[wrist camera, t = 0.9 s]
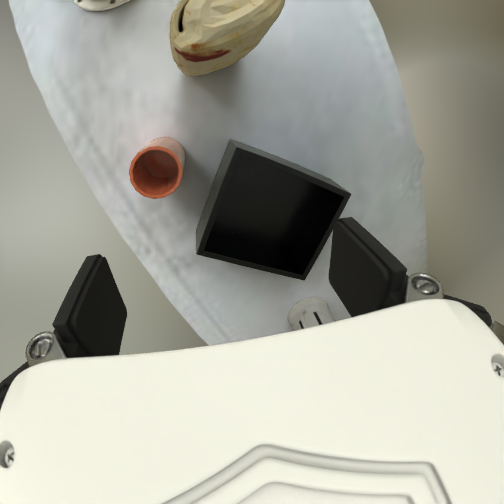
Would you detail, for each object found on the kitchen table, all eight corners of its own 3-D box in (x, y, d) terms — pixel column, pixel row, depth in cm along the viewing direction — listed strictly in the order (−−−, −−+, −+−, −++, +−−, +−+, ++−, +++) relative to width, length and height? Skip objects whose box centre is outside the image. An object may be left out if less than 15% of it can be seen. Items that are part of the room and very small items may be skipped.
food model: (196, 91, 31) (193, 78, 14) (167, 55, 28) (135, 10, 11) (257, 52, 29) (318, 12, 13) (229, 17, 26) (263, -53, 9)
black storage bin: (195, 231, 41) (196, 254, 36) (229, 138, 35) (236, 146, 30) (291, 256, 47) (304, 280, 41) (330, 179, 41) (351, 194, 35)
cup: (137, 173, 35) (124, 191, 28) (149, 132, 33) (137, 140, 26) (177, 184, 37) (173, 204, 30) (191, 144, 35) (189, 154, 28)
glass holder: (299, 334, 58) (322, 390, 45) (266, 297, 51) (288, 361, 38) (333, 313, 57) (363, 366, 44) (307, 271, 49) (341, 331, 37)
